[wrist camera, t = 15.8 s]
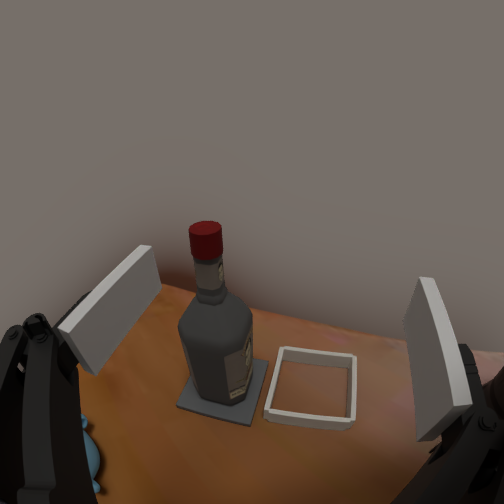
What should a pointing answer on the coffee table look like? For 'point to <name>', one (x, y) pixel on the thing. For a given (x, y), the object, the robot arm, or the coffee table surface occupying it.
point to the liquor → (216, 324)
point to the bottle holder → (323, 360)
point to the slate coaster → (229, 413)
